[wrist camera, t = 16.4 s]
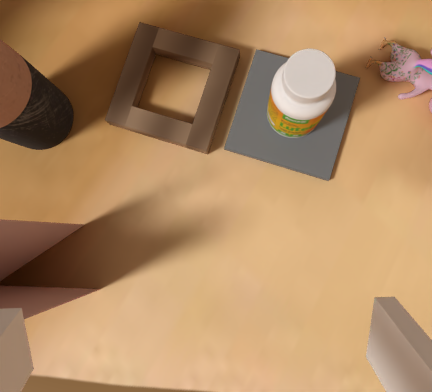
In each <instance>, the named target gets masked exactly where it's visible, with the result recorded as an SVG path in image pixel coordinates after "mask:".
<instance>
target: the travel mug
mask: <svg viewBox="0 0 432 392" xmlns="http://www.w3.org/2000/svg"><path fill="white" fill-rule="evenodd" d="M72 123H73V109H72V106H71V103H70V101H69V99H68V98H67V97H66V96H65V95H64V93H63V92H62V91H60V90H59V89H58V88H57V87H56V86H55V85H54V84H53V83H51V82H50V81H49V80H48V79H47V78H46V77H45V76H43V75H42V74H41V73H40V72H39V71H38V70H37V69H35V68H34V67H33V66H32V65H31V64H30V63H29V62H27V61H26V60H25V59H24V58H23V57H22V56H21V55H19V54H18V53H17V52H16V51H14V50H13V49H12V48H11V47H9V46H8V45H7V44H5V43H4V42H3V41H2V40H0V138H1V139H3V140H6V141H9V142H12V143H15V144H18V145H21V146H24V147H27V148H31V149H36V150H42V149H48V148H51V147H54V146H56V145H57V144H59V143H60V142H61V141H62V140H64V139H65V137H66V136H67V135H68V133H69V131H70V129H71V127H72Z"/></svg>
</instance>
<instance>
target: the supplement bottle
mask: <svg viewBox="0 0 432 392" xmlns="http://www.w3.org/2000/svg"><path fill="white" fill-rule="evenodd" d="M335 77H336V70H335V66H334V63H333V62H332V60H331V59H330V57H329V56H328V55H327V54H325V53H324V52H322V51H320V50H316V49H303V50H300V51H298V52H296V53H294V54H293V55H292V56H291V57H290V58H289V59H288V61H287V62H286V63H284V64H283V65H282V66H281V67H280V68H279V69H278V71H277V72H276V74H275V76H274V78H273V81H272V85H271V90H270V96H269V101H268V106H267V118H268V121H269V123H270V125H271V127H272V128H273V129H274V130H275V131H276V132H277V133H278V134H280V135H282V136H285V137H288V138H299V137H302V136H305V135H307V134H309V133H310V132H311V131H312V130H313V129H314V128H315V127H316V126H317V124H318V123H319V122H320V120H321V119H322V117H323V116H324V114H325V113H326V111H327V110H328V109H329V107H330V105H331V104H332V102H333V100H334V97H335V94H336V80H335Z"/></svg>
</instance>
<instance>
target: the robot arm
mask: <svg viewBox="0 0 432 392" xmlns="http://www.w3.org/2000/svg"><path fill="white" fill-rule="evenodd" d="M366 358H367V359H368V361H369V363H370V365H371V366H372V368H373V370H374V371H375V373H376V375H377V377H378V378H379V380H380V382H381V383H382V385H383V387H384V389H385V390H386V392H432V340H431V339H430V338H429V336H428V335H427V334H426V333H425V332H424V331H423V329H422V328H421V327H420V326H419V325H418V324H417V322H416V321H415V320H414V319H413V318H412V317H411V315H410V314H409V313H408V312H407V311H406V310H405V309H404V307H403V306H402V305H401V304H400V303H399V302H398V300H397V299H396V298H395V297H375V298H374V305H373V312H372V319H371V326H370V333H369V339H368V346H367V353H366ZM33 369H34V367H33V362H32V357H31V352H30V347H29V342H28V337H27V332H26V327H25V322H24V317H23V312H22V308H7V309H0V392H21V391H22V389H23V387H24V385H25V383H26V382H27V380H28V378H29V376H30V374H31V373H32V371H33Z"/></svg>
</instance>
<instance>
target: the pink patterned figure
mask: <svg viewBox="0 0 432 392" xmlns="http://www.w3.org/2000/svg"><path fill="white" fill-rule="evenodd" d="M384 39H385V40H383V42H382V44H381V48H384V46H385V45H386V44H389V45H391V47H392V52H391V56H390V60H391V62H382V61H375V60H372V57H371V56H370V57H371V59H369V61H368V64H367V67H365V68H368V67H370V66H371V64H372V63H377V64H378V65H379V68H380V75H381V77H382V78H383V79H385V80H387V81H391V82H401V81H407V82H410V83H412V84H413V85H414V87H415V89H414V90H413V91H411V92H409V93H401V94H399V95H398V99H406V98H411V97H414V96H416V95H419V94H421V93H423V92H424V91H426V90H428V89H430V90H432V59H421V57H420V55H419V54H418V53H417V52H416V51H415V50H413V49H408V48H405V47H403V46H400V45H398V44H397V43H396V42H395V41H392V42H390V41H386V38H385V37H384ZM381 48H380V49H378V50H381ZM431 55H432V49H431ZM429 109H430V112H431V113H432V98H431V100H430V102H429Z"/></svg>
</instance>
